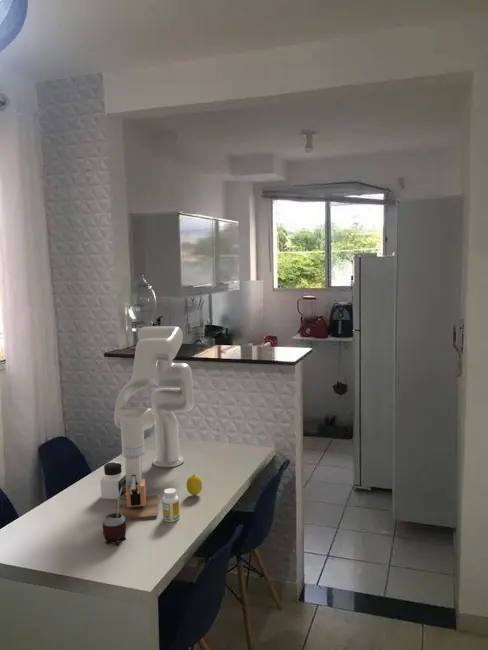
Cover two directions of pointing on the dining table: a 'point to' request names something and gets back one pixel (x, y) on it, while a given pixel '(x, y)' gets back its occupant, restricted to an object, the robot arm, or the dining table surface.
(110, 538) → the mate gourd
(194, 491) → the lemon
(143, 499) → the tan wooden cube
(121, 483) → the medicine bottle
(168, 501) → the supplement bottle
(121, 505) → the base board
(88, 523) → the dining table surface
